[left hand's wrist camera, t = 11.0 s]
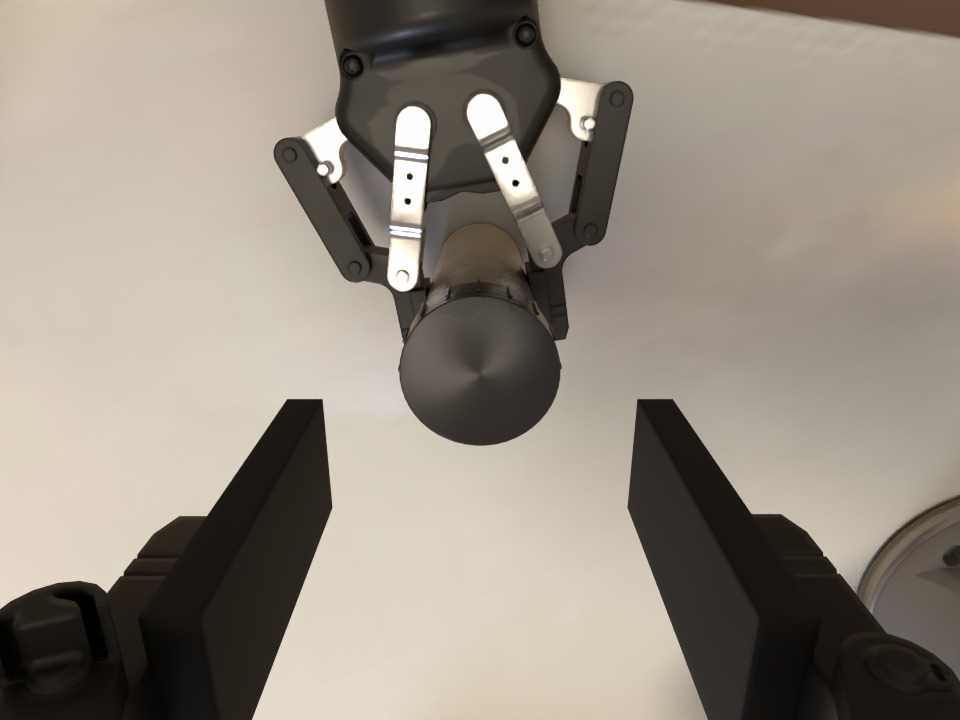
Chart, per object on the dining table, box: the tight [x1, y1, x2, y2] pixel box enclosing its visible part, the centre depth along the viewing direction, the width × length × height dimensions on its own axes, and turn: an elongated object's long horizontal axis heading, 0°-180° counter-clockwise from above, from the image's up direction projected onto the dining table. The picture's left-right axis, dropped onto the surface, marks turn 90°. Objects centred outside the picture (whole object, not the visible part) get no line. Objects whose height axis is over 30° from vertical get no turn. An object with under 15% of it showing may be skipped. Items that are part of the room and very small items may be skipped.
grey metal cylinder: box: [426, 223, 533, 303], centre depth 26 cm, size 4×4×15 cm
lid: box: [398, 280, 562, 446], centre depth 20 cm, size 5×5×2 cm
